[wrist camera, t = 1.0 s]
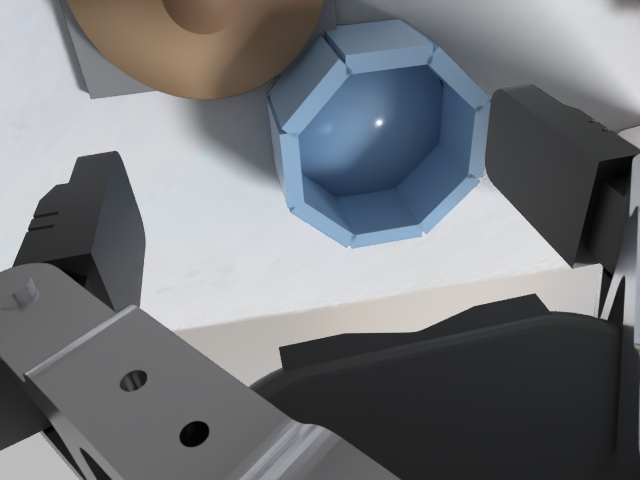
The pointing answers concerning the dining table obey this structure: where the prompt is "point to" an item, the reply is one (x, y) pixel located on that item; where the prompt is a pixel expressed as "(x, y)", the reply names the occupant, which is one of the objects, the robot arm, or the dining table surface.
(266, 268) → the dining table surface
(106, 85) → the mat
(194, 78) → the lid
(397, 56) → the bowl
